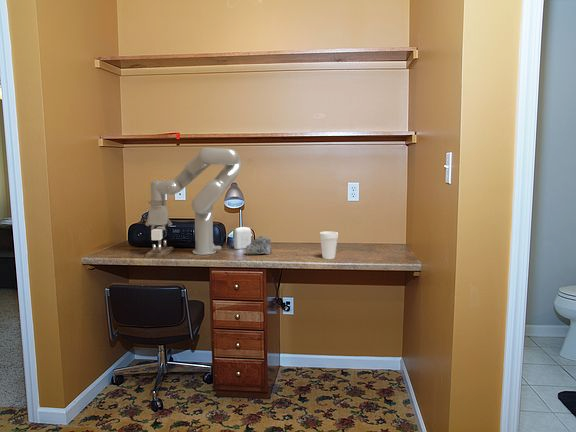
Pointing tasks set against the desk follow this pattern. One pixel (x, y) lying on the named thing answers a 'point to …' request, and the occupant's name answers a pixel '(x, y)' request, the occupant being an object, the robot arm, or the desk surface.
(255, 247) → the mineral rock
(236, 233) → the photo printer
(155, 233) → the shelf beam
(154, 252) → the peg stand
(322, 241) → the foam cup
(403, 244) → the desk surface
